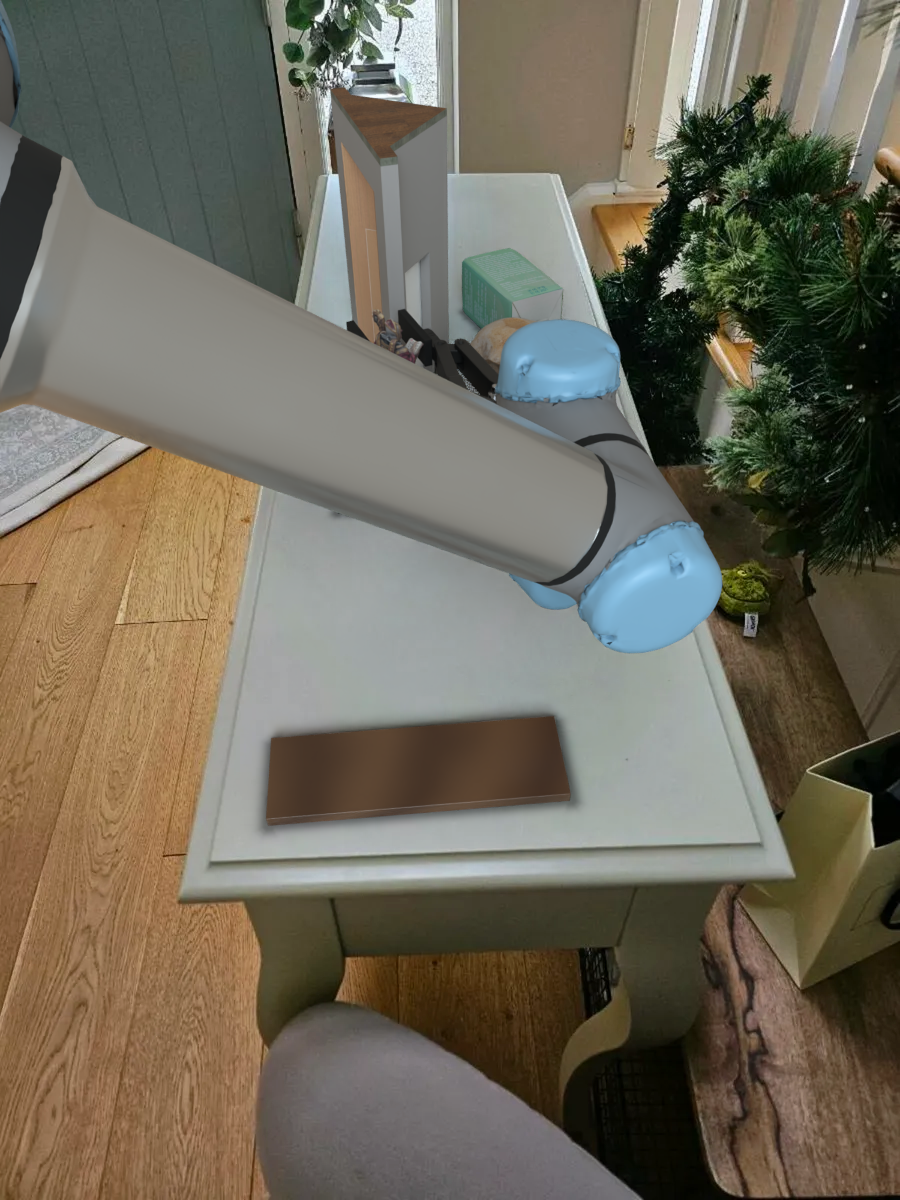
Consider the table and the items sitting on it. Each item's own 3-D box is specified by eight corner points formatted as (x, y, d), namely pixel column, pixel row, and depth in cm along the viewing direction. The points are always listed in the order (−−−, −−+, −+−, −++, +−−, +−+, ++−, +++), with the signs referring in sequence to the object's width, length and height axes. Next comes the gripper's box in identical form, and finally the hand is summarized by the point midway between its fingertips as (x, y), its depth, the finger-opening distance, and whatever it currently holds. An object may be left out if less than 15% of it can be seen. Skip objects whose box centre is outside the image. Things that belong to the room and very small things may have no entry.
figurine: (390, 450, 83) (381, 339, 74) (358, 417, 87) (345, 308, 78) (445, 427, 86) (442, 318, 77) (411, 396, 89) (405, 288, 80)
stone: (578, 333, 105) (593, 307, 97) (574, 418, 104) (589, 399, 96) (467, 324, 104) (473, 297, 96) (462, 410, 103) (467, 390, 95)
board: (267, 826, 62) (265, 819, 61) (273, 744, 66) (271, 737, 66) (569, 801, 63) (570, 793, 62) (553, 723, 68) (554, 715, 67)
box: (508, 297, 116) (511, 243, 110) (561, 344, 108) (566, 288, 102) (460, 310, 114) (460, 255, 108) (509, 359, 105) (512, 302, 100)
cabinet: (353, 334, 110) (329, 88, 89) (425, 322, 112) (418, 79, 91) (396, 424, 96) (380, 158, 76) (478, 409, 98) (483, 145, 78)
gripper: (384, 524, 70) (295, 382, 84) (572, 467, 75) (457, 342, 90) (379, 448, 64) (284, 310, 79) (582, 393, 70) (458, 273, 84)
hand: (376, 328), depth 84 cm, fingers closed on figurine, 5 cm apart
